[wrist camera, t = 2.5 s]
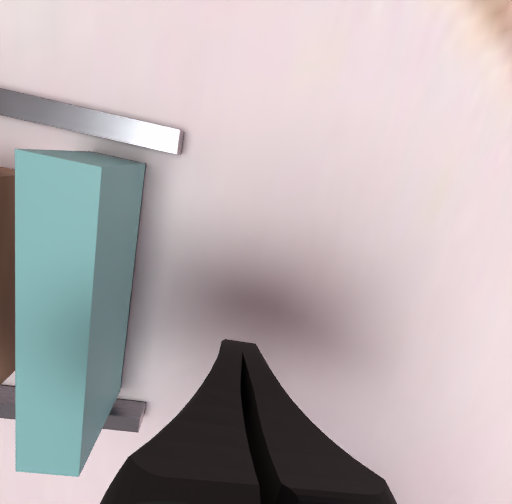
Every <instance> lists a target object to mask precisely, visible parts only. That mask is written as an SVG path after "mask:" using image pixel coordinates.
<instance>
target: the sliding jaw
mask: <svg viewBox="0 0 512 504" xmlns="http://www.w3.org/2000/svg"><path fill="white" fill-rule="evenodd" d="M144 173H145V163H141V162H136V161H131V160H127V159H122V158H117V157H113V156H108V155H103V154H99V153H94V152H90V151H61V150H31V149H15V404H16V471H18V472H30V473H41V474H53V475H64V476H76V477H79V475H80V473H81V471H82V469H83V467H84V465H85V463H86V461H87V459H88V457H89V455H90V452H91V450H92V448H93V446H94V444H95V442H96V440H97V438H98V436H99V434H100V432H101V430H102V428H103V426H104V423H105V421H106V419H107V417H108V415H109V413H110V411H111V409H112V407H113V405H114V403H115V401H116V399H117V397H118V394H119V392H120V387H121V378H122V369H123V360H124V351H125V342H126V333H127V324H128V315H129V306H130V297H131V289H132V280H133V271H134V262H135V253H136V244H137V235H138V226H139V217H140V208H141V199H142V190H143V182H144Z"/></svg>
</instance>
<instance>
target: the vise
mask: <svg viewBox="0 0 512 504" xmlns="http://www.w3.org/2000/svg"><path fill="white" fill-rule="evenodd" d="M0 115H3V116H7V117H12V118H16V119H21V120H25V121H30V122H34V123H39V124H43V125H48V126H52V127H57V128H61V129H66V130H70V131H75V132H79V133H84V134H88V135H93V136H97V137H102V138H106V139H111V140H115V141H120V142H124V143H129V144H133V145H138V146H142V147H147V148H151V149H156V150H160V151H165V152H169V153H174V154H181V151H182V144H183V137H184V132H183V131H181V130H178V129H174V128H170V127H165V126H161V125H157V124H152V123H148V122H144V121H139V120H135V119H131V118H127V117H122V116H118V115H114V114H109V113H105V112H101V111H96V110H92V109H88V108H84V107H79V106H75V105H71V104H66V103H62V102H58V101H53V100H49V99H45V98H41V97H36V96H32V95H28V94H23V93H19V92H15V91H10V90H6V89H2V88H0ZM145 405H146V402H138V401H130V400H121V399H116V401H115V403H114V405H113V407H112V409H111V411H110V413H109V415H108V417H107V419H106V421H105V423H104V426H103V428H102V429H110V430H120V431H129V432H138V431H139V428H140V426H141V423H142V420H143V417H144V412H145ZM0 418H7V419H16V404H15V387H12V386H4V385H0Z"/></svg>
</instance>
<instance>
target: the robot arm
mask: <svg viewBox="0 0 512 504" xmlns="http://www.w3.org/2000/svg"><path fill="white" fill-rule="evenodd" d="M100 504H397V503H396V501H395V499H394V496H393V495H392V493H391V491H390V489H389V487H388V485H387V483H386V481H385V480H384V479H383V478H381V477H380V476H378V475H377V474H375V473H374V472H373V471H371V470H370V469H368V468H367V467H365V466H364V465H362V464H361V463H360V462H358V461H357V460H355V459H354V458H353V457H351V456H350V455H349V454H348V453H346V452H345V451H344V450H343V449H341V448H340V447H339V446H338V445H336V444H335V443H334V442H333V441H332V440H331V439H329V438H328V437H327V436H326V435H325V434H324V433H323V432H322V431H321V430H320V429H319V428H318V427H317V426H315V425H314V424H313V423H312V422H311V421H310V420H309V419H308V417H307V416H306V415H305V414H304V413H303V412H302V411H301V410H300V409H299V408H298V406H297V405H296V404H295V403H294V402H293V401H292V399H291V398H290V397H289V396H288V394H287V393H286V392H285V390H284V389H283V387H282V386H281V385H280V383H279V382H278V380H277V379H276V377H275V376H274V374H273V373H272V371H271V369H270V368H269V366H268V364H267V363H266V361H265V359H264V358H263V356H262V354H261V352H260V350H259V349H258V347H257V345H256V344H254V343H247V342H241V341H234V340H227V339H225V340H223V341H222V342H221V347H220V351H219V355H218V357H217V359H216V361H215V363H214V365H213V367H212V369H211V371H210V373H209V374H208V376H207V377H206V379H205V380H204V382H203V384H202V385H201V387H200V388H199V389H198V391H197V392H196V393H195V395H194V396H193V397H192V399H191V400H190V401H189V402H188V403H187V405H186V406H185V407H184V408H183V409H182V410H181V411H180V413H179V414H178V415H177V416H176V417H175V418H174V419H173V420H172V421H171V422H170V423H169V424H168V425H167V426H165V427H164V428H163V429H162V430H161V431H160V432H159V433H158V434H157V435H156V436H155V437H153V438H152V439H151V440H150V441H149V442H147V443H146V444H145V445H143V446H142V447H141V448H139V449H138V450H137V451H136V452H134V453H133V454H132V455H130V456H129V457H128V458H127V460H126V461H125V463H124V464H123V466H122V467H121V469H120V470H119V472H118V473H117V475H116V476H115V478H114V480H113V481H112V483H111V484H110V486H109V488H108V490H107V491H106V493H105V495H104V497H103V499H102V501H101V503H100Z"/></svg>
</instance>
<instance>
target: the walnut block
mask: <svg viewBox="0 0 512 504" xmlns="http://www.w3.org/2000/svg"><path fill="white" fill-rule="evenodd" d="M14 371H15V170H14V169H9V168H4V167H0V385H1V384H2V383H3V382H4V381H5V380H6V379H7V378H8V377H9V376H10V375H11V374H12V373H13V372H14Z"/></svg>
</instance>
